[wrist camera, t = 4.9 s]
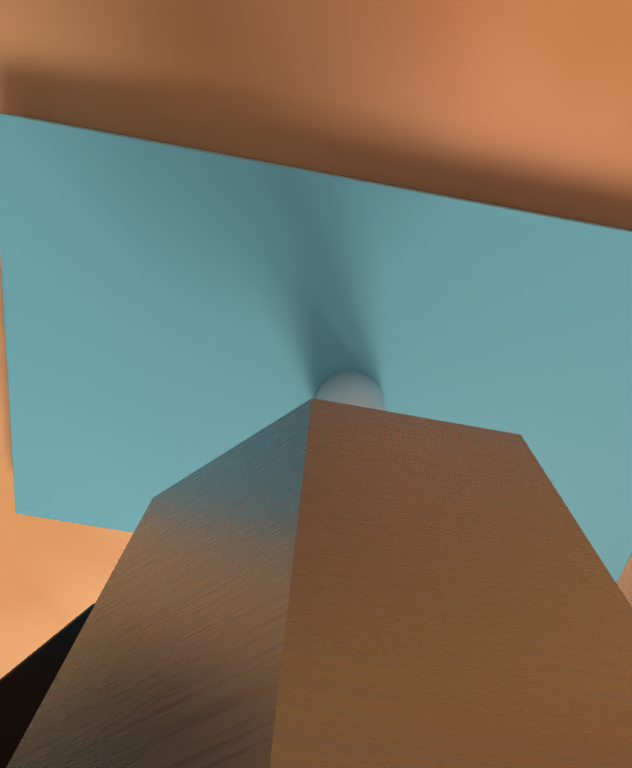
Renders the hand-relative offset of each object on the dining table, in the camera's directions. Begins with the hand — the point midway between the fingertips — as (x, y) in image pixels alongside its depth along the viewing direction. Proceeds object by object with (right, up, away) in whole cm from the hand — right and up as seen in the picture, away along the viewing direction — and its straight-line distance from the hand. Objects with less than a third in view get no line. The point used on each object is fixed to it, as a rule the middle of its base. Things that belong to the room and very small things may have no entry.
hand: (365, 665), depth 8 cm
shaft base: (0, +4, +9) cm, 10 cm away
